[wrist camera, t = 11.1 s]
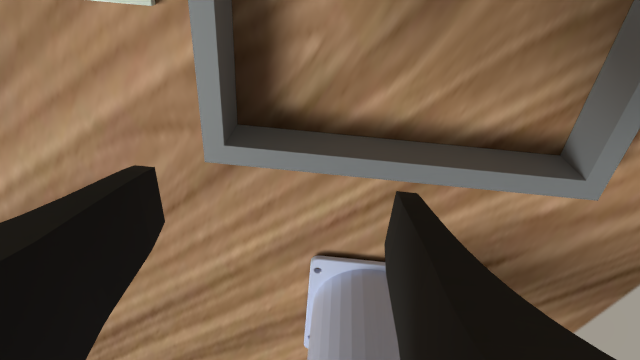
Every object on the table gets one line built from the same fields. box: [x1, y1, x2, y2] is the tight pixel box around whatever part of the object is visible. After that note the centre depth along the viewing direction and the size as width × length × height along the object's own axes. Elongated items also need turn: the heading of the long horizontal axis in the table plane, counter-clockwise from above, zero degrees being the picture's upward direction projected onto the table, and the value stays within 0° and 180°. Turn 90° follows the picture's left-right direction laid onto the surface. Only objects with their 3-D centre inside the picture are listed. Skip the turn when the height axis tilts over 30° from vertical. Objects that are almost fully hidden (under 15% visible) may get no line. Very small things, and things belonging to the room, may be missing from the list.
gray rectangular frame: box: [188, 0, 640, 201], centre depth 15 cm, size 13×19×2 cm
